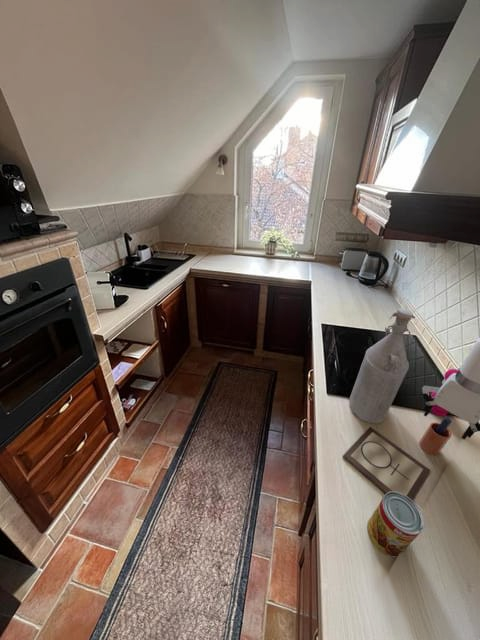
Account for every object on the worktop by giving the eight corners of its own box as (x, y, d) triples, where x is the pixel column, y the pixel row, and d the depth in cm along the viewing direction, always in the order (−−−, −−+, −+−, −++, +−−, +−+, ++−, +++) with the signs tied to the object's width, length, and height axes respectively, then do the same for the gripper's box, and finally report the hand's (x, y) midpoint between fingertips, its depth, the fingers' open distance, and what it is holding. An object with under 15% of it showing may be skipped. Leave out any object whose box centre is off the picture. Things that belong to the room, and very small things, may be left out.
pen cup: (440, 449, 79) (453, 431, 74) (434, 459, 76) (447, 441, 71) (422, 437, 82) (433, 419, 78) (415, 446, 80) (427, 428, 75)
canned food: (387, 564, 56) (407, 542, 49) (359, 524, 62) (374, 500, 56) (411, 546, 58) (433, 523, 52) (382, 509, 64) (399, 485, 58)
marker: (433, 447, 79) (452, 419, 72) (431, 451, 78) (450, 423, 71) (426, 443, 80) (445, 415, 73) (424, 446, 79) (443, 418, 72)
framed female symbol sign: (429, 472, 73) (431, 469, 72) (405, 511, 64) (407, 509, 64) (369, 428, 85) (370, 426, 84) (342, 456, 76) (343, 454, 76)
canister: (347, 418, 88) (382, 321, 68) (350, 385, 102) (381, 296, 81) (387, 432, 84) (438, 333, 63) (385, 396, 97) (427, 304, 77)
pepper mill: (424, 399, 97) (448, 358, 86) (447, 408, 93) (475, 366, 83) (423, 411, 91) (448, 369, 81) (447, 421, 88) (476, 379, 78)
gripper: (523, 394, 61) (485, 438, 70) (440, 357, 72) (417, 399, 81) (517, 410, 57) (478, 455, 65) (430, 368, 68) (407, 411, 77)
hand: (444, 424), depth 73 cm, fingers open, 9 cm apart
